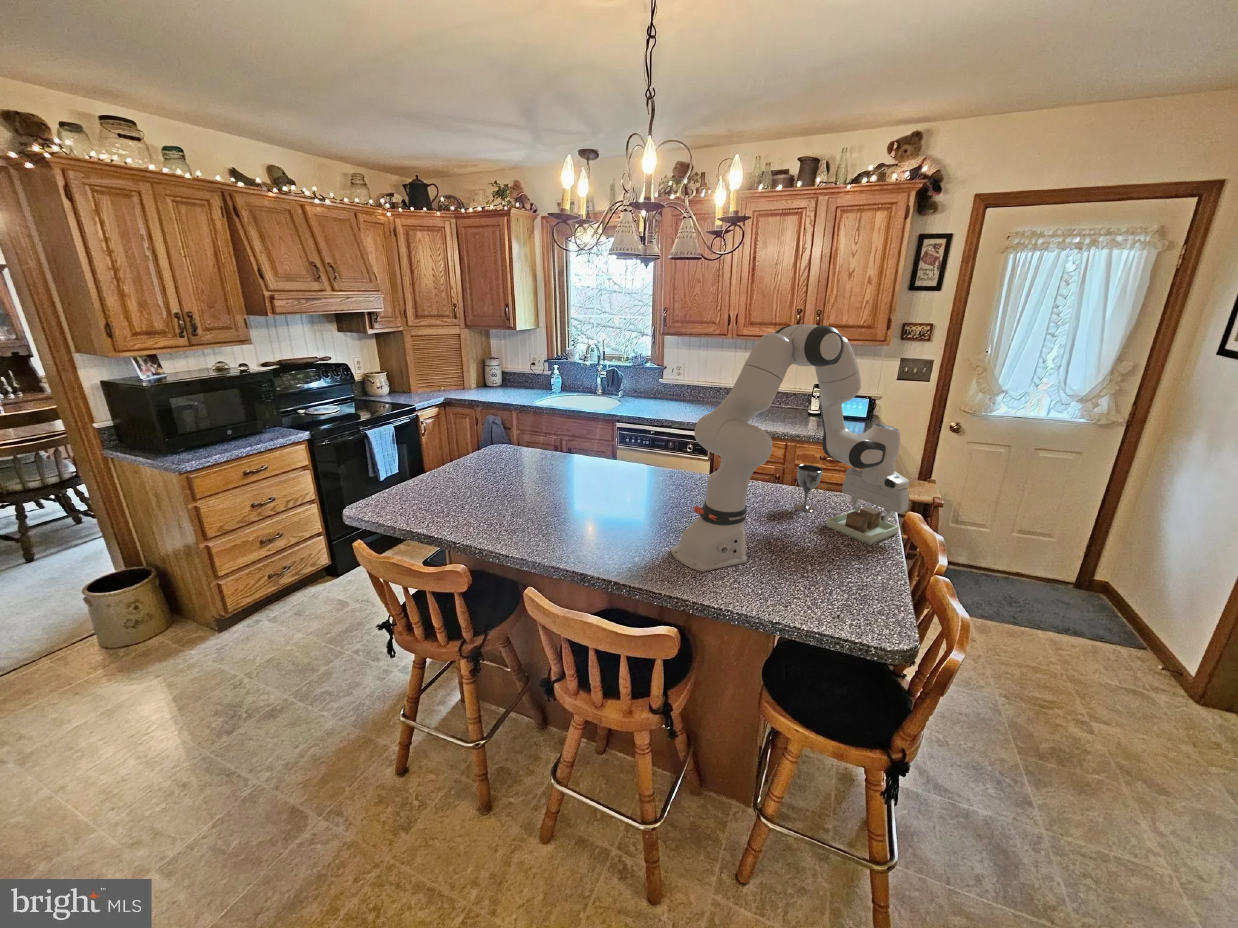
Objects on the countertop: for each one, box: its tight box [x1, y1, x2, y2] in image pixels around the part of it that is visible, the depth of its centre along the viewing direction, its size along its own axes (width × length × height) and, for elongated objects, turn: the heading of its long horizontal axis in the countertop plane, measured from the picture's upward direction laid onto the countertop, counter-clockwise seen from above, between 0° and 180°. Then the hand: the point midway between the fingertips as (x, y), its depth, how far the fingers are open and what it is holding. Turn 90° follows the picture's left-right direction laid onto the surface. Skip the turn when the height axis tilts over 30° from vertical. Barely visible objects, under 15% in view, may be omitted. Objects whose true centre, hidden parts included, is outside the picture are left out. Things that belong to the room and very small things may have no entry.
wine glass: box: [793, 463, 823, 513], centre depth 173 cm, size 8×8×15 cm
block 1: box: [845, 511, 869, 533], centre depth 157 cm, size 4×4×6 cm
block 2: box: [859, 506, 882, 530], centre depth 160 cm, size 4×4×6 cm
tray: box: [825, 509, 900, 546], centre depth 159 cm, size 15×15×2 cm
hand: (869, 515), depth 160 cm, fingers open, 8 cm apart
